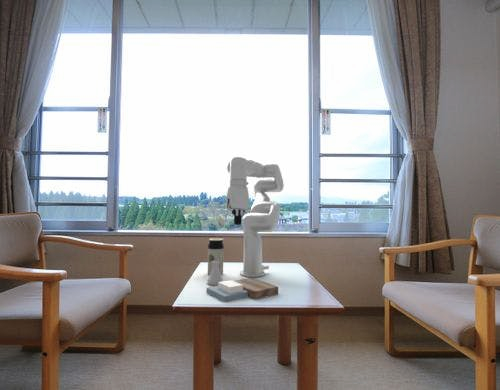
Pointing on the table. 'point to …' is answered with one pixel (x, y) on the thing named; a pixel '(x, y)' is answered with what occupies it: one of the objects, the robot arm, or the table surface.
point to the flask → (215, 274)
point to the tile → (230, 286)
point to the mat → (226, 294)
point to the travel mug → (215, 253)
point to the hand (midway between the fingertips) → (237, 224)
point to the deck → (257, 288)
